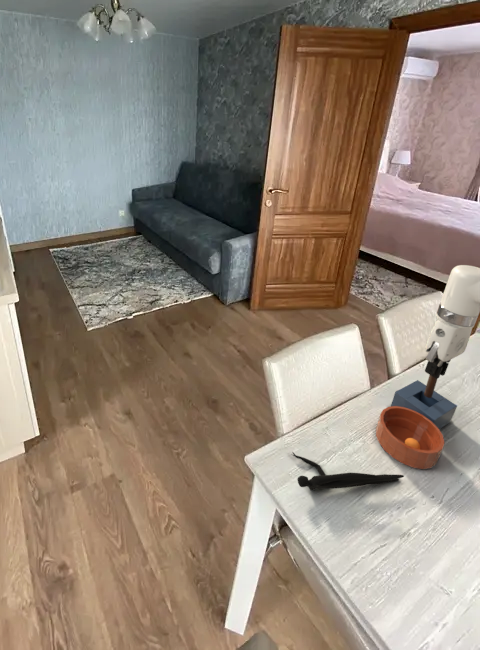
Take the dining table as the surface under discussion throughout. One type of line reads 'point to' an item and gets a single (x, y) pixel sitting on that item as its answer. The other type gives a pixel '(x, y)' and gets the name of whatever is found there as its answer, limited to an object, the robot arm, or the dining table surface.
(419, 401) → the holder
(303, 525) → the dining table surface
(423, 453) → the bowl
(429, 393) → the stick
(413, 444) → the ball
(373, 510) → the dining table surface
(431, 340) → the robot arm
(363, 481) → the dark humanoid figurine
